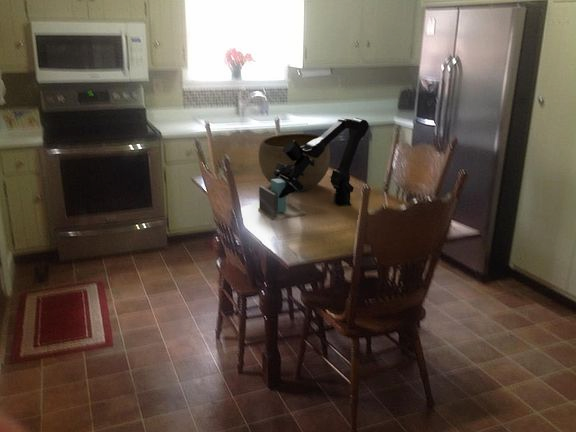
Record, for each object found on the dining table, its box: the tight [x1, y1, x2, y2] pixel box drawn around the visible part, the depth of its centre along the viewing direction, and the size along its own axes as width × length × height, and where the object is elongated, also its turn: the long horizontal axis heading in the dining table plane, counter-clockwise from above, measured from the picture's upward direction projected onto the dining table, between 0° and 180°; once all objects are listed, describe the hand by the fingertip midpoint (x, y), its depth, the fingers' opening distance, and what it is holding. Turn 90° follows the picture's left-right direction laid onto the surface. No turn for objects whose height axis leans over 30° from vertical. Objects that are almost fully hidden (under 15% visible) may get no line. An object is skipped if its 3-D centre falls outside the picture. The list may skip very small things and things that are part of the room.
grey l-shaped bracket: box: [257, 185, 306, 221], centre depth 237 cm, size 16×14×11 cm
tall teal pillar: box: [270, 178, 287, 213], centre depth 235 cm, size 4×6×13 cm, turn 28°
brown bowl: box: [258, 133, 331, 192], centre depth 274 cm, size 35×35×25 cm
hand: (275, 195), depth 234 cm, fingers closed on tall teal pillar, 6 cm apart
